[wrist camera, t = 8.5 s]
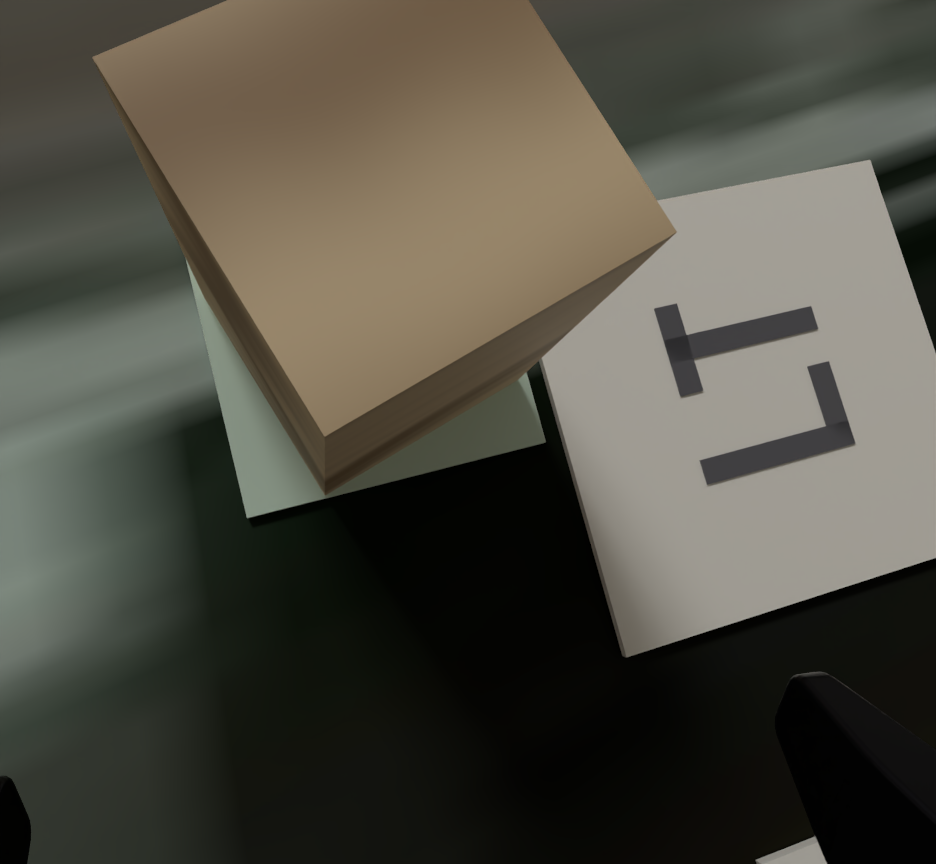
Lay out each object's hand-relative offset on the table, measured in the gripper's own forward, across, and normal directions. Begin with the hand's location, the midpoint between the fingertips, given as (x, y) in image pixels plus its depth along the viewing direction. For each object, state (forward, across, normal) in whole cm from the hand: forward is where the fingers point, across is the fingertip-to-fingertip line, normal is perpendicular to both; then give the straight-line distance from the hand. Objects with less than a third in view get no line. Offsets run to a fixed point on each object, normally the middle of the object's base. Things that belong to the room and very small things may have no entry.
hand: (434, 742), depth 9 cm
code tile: (+12, -11, +3) cm, 17 cm away
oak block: (+13, 0, +1) cm, 13 cm away
